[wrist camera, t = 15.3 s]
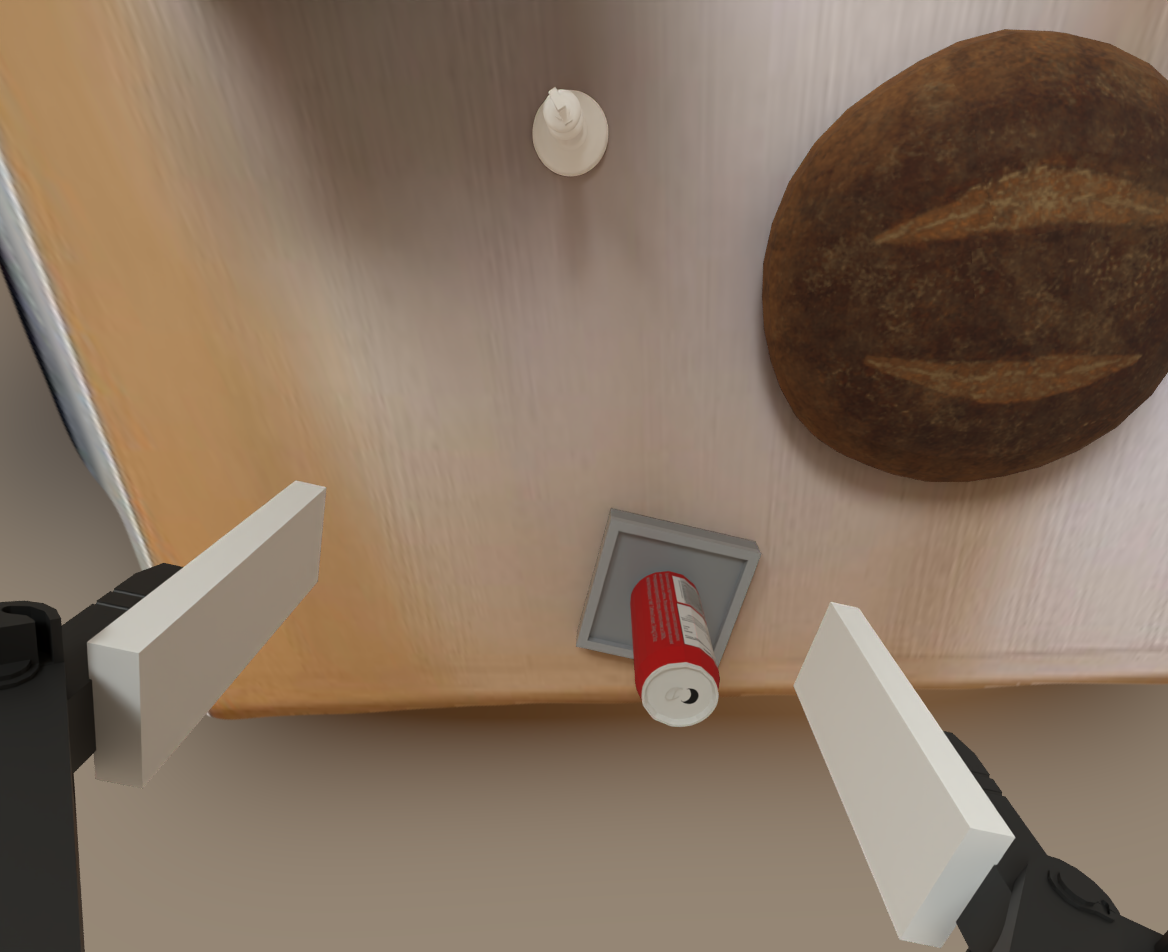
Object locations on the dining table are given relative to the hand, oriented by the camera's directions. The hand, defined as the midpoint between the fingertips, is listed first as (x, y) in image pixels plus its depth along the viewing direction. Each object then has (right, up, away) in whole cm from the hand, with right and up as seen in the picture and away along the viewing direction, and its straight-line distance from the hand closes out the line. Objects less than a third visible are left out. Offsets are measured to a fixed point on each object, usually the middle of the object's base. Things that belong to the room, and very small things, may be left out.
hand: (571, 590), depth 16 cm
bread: (+26, +16, +27) cm, 41 cm away
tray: (+7, -6, +36) cm, 37 cm away
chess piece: (-1, +25, +25) cm, 35 cm away
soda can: (+7, -7, +35) cm, 36 cm away
